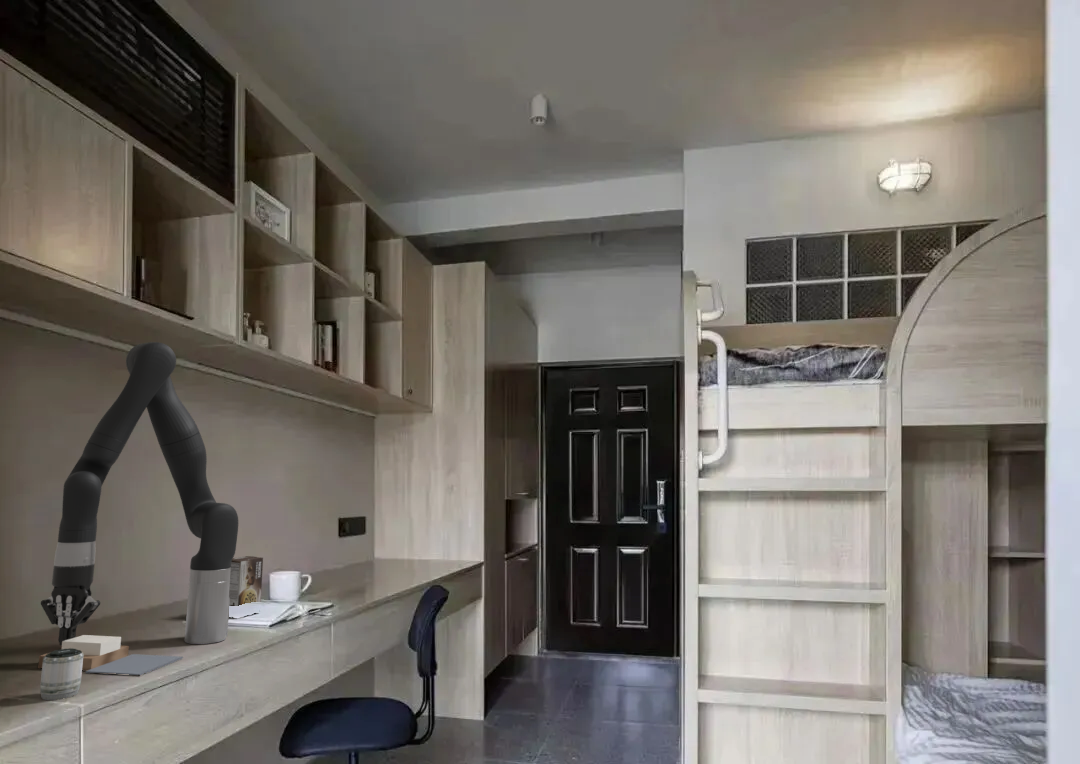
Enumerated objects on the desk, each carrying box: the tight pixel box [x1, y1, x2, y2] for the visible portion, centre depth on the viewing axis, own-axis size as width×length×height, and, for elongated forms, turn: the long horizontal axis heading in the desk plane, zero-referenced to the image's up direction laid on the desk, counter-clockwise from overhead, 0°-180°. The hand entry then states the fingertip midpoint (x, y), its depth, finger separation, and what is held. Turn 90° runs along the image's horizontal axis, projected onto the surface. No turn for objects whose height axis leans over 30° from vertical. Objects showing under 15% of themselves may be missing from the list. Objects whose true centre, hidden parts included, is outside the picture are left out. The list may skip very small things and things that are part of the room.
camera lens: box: [39, 648, 84, 701], centre depth 130 cm, size 6×6×8 cm
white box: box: [61, 634, 122, 656], centre depth 152 cm, size 6×9×2 cm, turn 83°
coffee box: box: [229, 555, 264, 606], centre depth 205 cm, size 9×6×16 cm
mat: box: [84, 653, 184, 676], centre depth 150 cm, size 14×12×1 cm
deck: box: [37, 645, 130, 670], centre depth 152 cm, size 11×12×2 cm
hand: (66, 644), depth 153 cm, fingers closed
